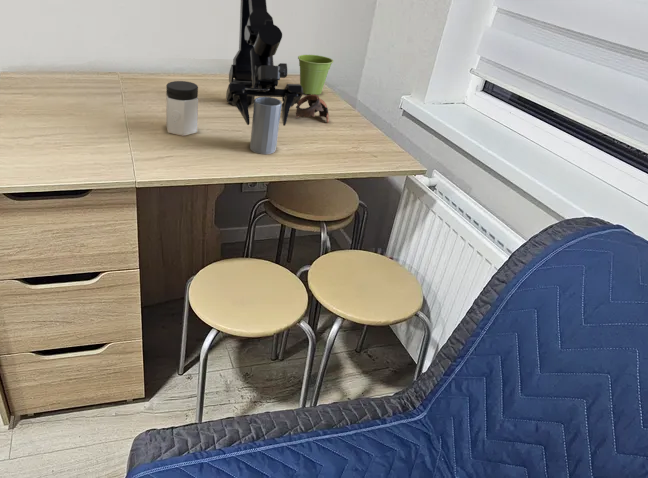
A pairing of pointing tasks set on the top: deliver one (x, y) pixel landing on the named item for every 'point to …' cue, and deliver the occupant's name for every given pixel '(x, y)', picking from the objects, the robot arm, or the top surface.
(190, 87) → the jar
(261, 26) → the robot arm
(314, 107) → the brown looped piece
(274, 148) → the tumbler
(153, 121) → the top surface
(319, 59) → the plant pot
